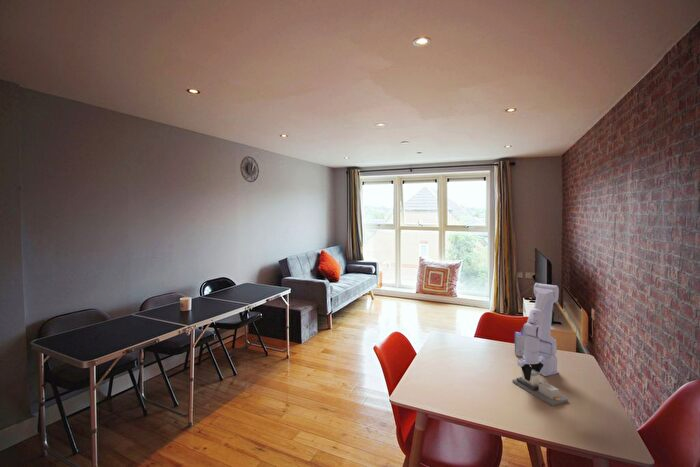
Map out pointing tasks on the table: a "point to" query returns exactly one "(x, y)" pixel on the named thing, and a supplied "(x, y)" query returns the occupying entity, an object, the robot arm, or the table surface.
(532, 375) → the plug
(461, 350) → the table surface
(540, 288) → the robot arm
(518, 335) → the ink cartridge box
